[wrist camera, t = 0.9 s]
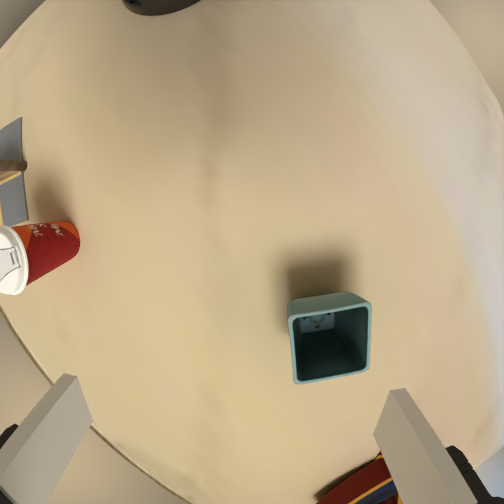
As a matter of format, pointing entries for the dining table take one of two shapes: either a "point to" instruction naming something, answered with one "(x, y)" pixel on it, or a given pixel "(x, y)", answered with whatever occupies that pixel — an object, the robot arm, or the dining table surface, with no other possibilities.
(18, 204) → the board
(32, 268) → the paper cup
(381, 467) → the decorative basket
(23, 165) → the fixed fence panel and posts
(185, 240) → the dining table surface
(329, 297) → the flower pot
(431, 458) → the robot arm
